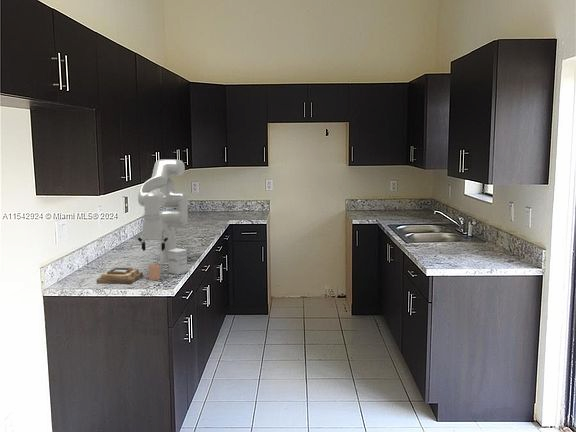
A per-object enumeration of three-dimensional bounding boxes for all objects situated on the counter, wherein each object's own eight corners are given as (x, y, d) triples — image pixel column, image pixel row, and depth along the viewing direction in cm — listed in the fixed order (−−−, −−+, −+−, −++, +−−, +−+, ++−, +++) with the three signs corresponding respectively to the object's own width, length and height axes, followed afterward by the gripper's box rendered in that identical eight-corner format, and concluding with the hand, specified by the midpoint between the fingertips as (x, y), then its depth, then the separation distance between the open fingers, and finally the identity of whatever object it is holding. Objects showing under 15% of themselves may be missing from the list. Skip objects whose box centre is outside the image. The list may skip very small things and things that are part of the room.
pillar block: (151, 277, 278) (150, 264, 277) (160, 277, 279) (160, 264, 278) (148, 279, 273) (148, 266, 272) (158, 279, 274) (158, 266, 273)
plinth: (110, 275, 283) (110, 266, 282) (143, 276, 281) (142, 266, 280) (96, 283, 267) (96, 273, 266) (130, 284, 265) (130, 274, 264)
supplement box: (168, 272, 288) (167, 250, 286) (178, 270, 294) (177, 247, 292) (178, 274, 284) (177, 251, 282) (187, 271, 290) (187, 249, 288)
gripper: (133, 218, 267) (134, 252, 270) (167, 218, 268) (168, 251, 270) (137, 216, 275) (138, 249, 277) (170, 216, 275) (171, 248, 278)
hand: (153, 250), depth 274 cm, fingers open, 9 cm apart
